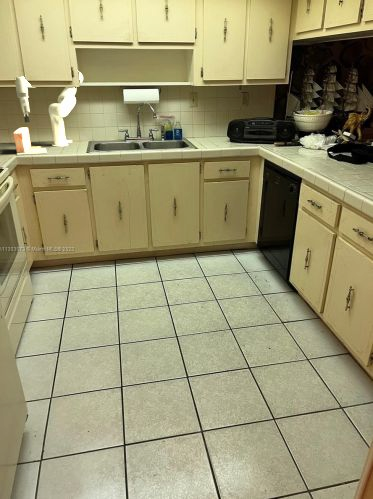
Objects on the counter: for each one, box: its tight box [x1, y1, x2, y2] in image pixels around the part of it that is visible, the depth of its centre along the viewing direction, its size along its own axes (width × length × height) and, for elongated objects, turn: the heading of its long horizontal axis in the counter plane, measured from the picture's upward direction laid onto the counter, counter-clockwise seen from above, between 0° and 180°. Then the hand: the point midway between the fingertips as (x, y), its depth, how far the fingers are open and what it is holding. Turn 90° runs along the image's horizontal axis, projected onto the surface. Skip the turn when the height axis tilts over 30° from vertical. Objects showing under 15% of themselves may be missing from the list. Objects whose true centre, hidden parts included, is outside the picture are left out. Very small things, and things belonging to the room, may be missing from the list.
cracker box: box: [12, 127, 32, 154], centre depth 269 cm, size 14×6×21 cm
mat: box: [16, 146, 48, 156], centre depth 270 cm, size 20×25×2 cm
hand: (27, 122), depth 272 cm, fingers closed
